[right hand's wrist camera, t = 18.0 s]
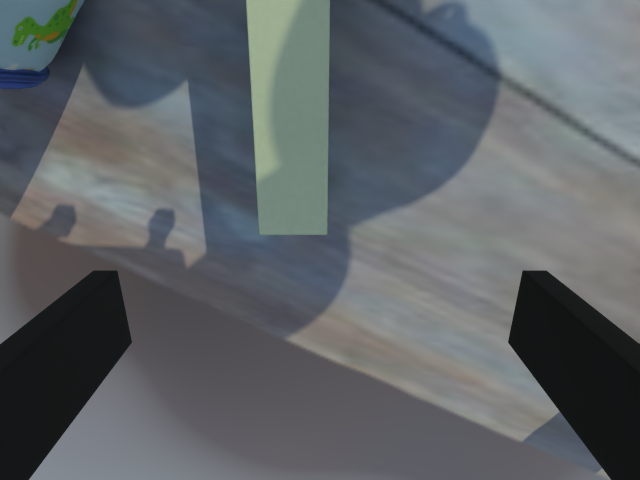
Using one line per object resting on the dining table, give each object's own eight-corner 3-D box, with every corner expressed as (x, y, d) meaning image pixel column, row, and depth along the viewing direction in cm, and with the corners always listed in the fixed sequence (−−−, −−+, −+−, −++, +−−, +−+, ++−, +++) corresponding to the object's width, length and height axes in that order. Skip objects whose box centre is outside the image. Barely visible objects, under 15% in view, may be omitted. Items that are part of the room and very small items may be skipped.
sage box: (324, 201, 37) (327, 235, 29) (271, 202, 37) (258, 235, 28) (328, -233, 26) (334, -385, 18) (253, -233, 26) (223, -387, 18)
